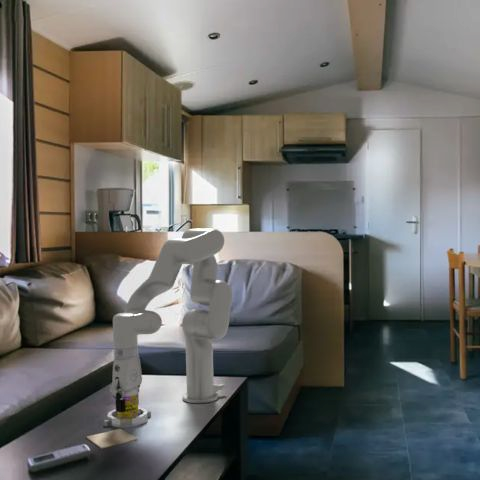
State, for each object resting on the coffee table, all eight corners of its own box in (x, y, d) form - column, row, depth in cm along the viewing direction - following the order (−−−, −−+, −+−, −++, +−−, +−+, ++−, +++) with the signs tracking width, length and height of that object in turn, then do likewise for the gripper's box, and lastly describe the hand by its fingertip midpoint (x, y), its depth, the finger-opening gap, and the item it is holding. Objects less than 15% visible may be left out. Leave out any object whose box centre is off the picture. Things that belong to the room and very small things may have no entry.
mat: (120, 429, 194) (120, 428, 194) (136, 439, 185) (136, 438, 185) (86, 437, 187) (86, 436, 187) (101, 448, 178) (101, 447, 178)
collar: (140, 411, 212) (140, 404, 212) (158, 420, 202) (158, 412, 202) (97, 421, 203) (96, 413, 203) (113, 431, 193) (113, 423, 193)
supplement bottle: (118, 425, 198) (117, 384, 198) (115, 419, 204) (114, 379, 204) (140, 422, 200) (139, 382, 200) (136, 416, 206) (135, 377, 206)
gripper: (119, 359, 192) (121, 417, 193) (150, 347, 208) (152, 402, 208) (99, 357, 195) (101, 415, 196) (131, 346, 211) (132, 399, 212)
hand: (127, 407), depth 202 cm, fingers closed on supplement bottle, 6 cm apart
